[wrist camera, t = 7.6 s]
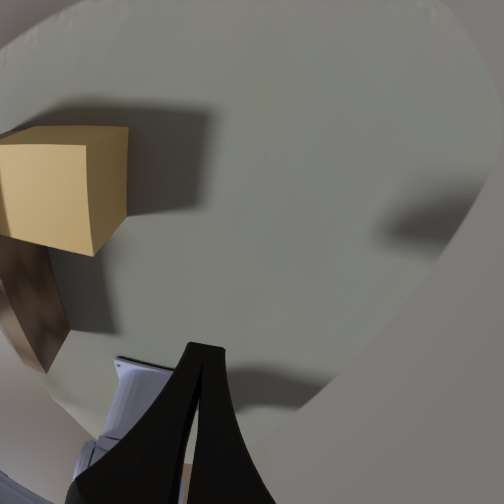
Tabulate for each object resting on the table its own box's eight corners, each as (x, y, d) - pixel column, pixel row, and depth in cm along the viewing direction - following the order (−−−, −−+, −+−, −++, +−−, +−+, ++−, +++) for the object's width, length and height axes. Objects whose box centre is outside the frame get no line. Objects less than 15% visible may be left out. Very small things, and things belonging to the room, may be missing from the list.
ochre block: (127, 215, 18) (93, 256, 14) (40, 202, 18) (0, 234, 13) (130, 126, 15) (86, 145, 11) (35, 125, 14) (-14, 145, 10)
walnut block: (70, 330, 25) (46, 374, 20) (49, 322, 25) (24, 363, 20) (33, 129, 14) (-28, 156, 9) (8, 130, 14) (-49, 157, 9)
